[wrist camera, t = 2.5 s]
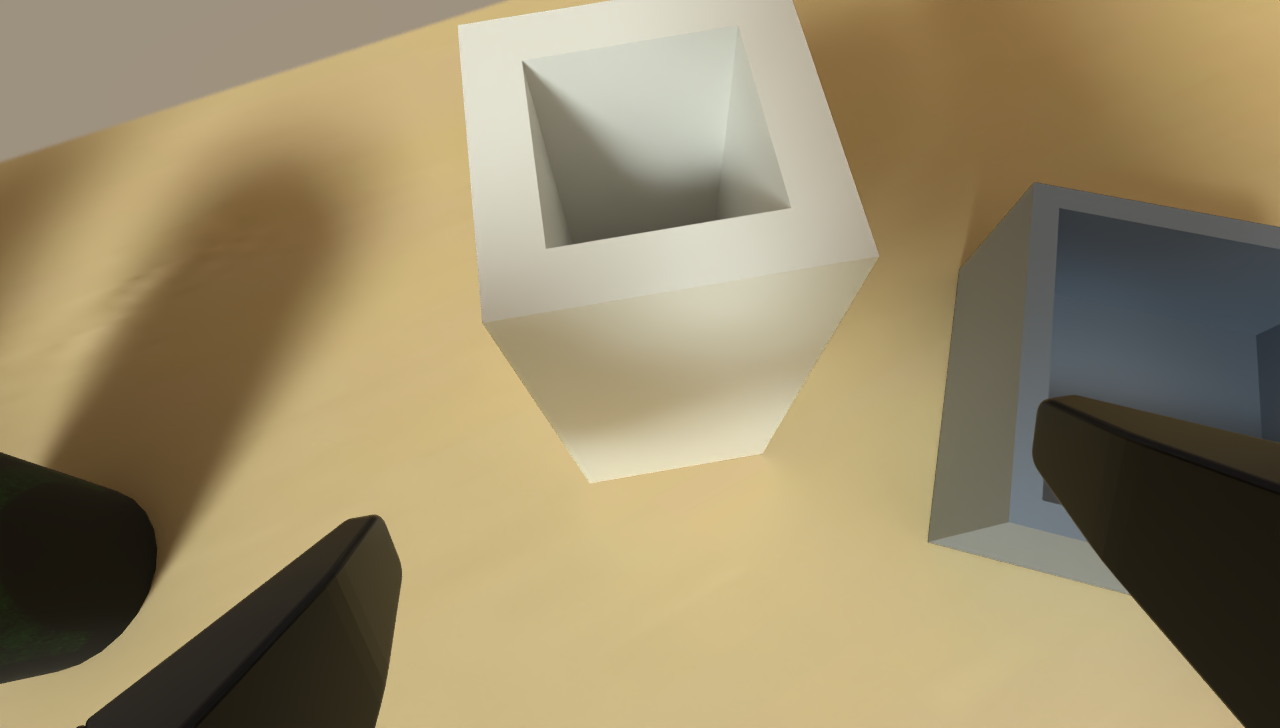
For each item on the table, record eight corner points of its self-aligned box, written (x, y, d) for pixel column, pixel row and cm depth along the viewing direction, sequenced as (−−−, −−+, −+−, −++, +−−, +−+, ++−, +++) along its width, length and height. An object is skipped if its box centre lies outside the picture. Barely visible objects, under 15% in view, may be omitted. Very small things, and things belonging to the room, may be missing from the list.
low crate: (1275, 632, 18) (1484, 642, 14) (928, 542, 19) (1008, 522, 15) (1257, 330, 21) (1421, 253, 17) (959, 269, 23) (1034, 181, 18)
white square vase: (762, 453, 21) (879, 256, 9) (589, 483, 21) (482, 322, 9) (725, 299, 23) (783, -27, 11) (568, 325, 23) (457, 25, 11)
